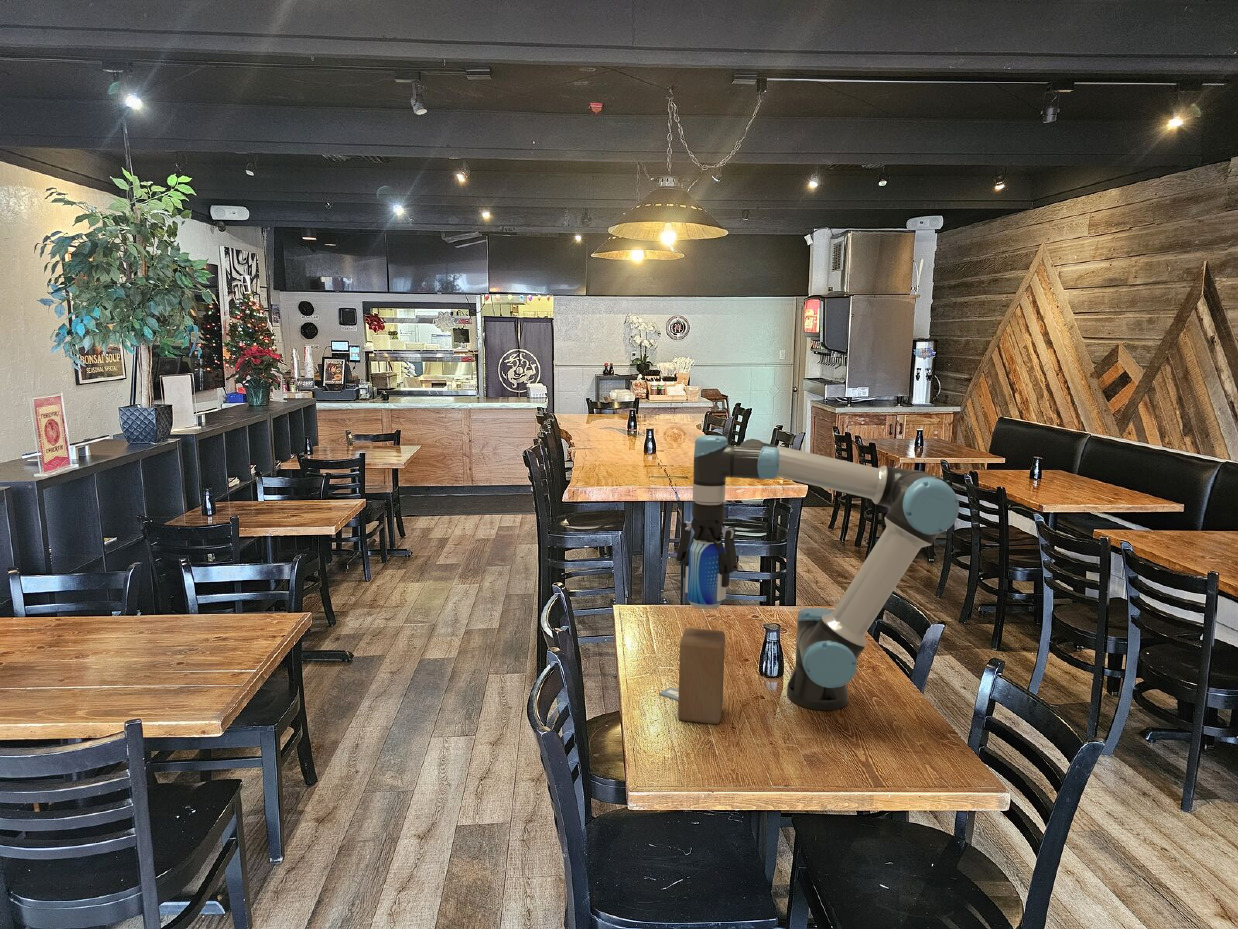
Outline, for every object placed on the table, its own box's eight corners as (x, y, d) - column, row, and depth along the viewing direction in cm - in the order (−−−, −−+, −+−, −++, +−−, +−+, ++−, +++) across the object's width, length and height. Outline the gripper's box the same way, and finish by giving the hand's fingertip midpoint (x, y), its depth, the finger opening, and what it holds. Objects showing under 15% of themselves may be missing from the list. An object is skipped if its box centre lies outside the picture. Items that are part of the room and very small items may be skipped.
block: (719, 726, 181) (722, 644, 179) (677, 721, 183) (679, 640, 181) (722, 707, 191) (725, 629, 188) (682, 703, 193) (684, 626, 190)
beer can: (703, 597, 190) (706, 533, 188) (730, 605, 184) (732, 540, 182) (680, 603, 185) (682, 538, 183) (706, 613, 179) (708, 545, 176)
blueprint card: (696, 696, 197) (696, 695, 197) (685, 703, 193) (685, 701, 193) (670, 688, 202) (670, 686, 202) (659, 694, 198) (659, 692, 198)
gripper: (756, 505, 177) (751, 601, 181) (680, 494, 190) (677, 583, 194) (739, 510, 172) (735, 609, 175) (662, 498, 185) (660, 590, 188)
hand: (705, 595), depth 184 cm, fingers closed on beer can, 8 cm apart
